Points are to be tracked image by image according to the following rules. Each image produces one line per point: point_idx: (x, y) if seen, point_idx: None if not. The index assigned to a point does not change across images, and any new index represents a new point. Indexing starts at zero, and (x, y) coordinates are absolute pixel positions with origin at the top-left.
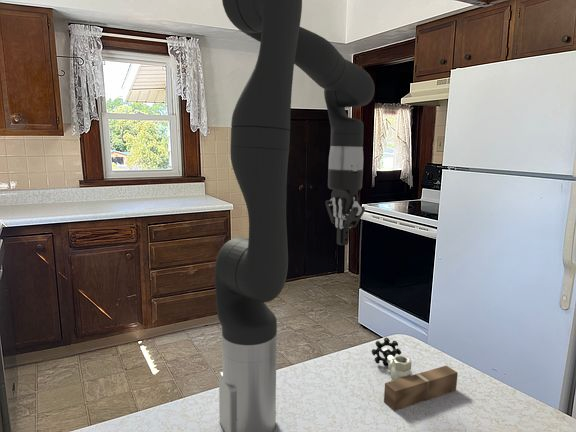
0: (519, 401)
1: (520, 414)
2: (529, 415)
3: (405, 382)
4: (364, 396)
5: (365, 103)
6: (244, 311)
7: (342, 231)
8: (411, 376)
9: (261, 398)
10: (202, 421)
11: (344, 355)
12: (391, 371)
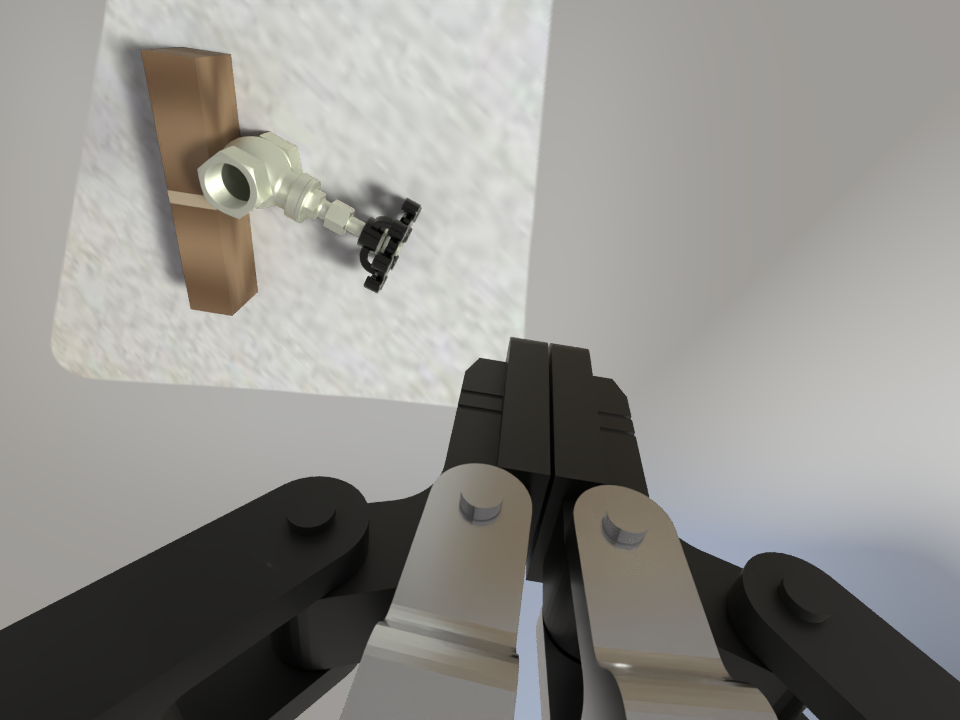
0: (145, 361)
1: (102, 320)
2: (96, 331)
3: (181, 128)
4: (278, 17)
5: None
6: None
7: (487, 462)
8: None
9: None
10: None
11: (525, 156)
12: (259, 145)
